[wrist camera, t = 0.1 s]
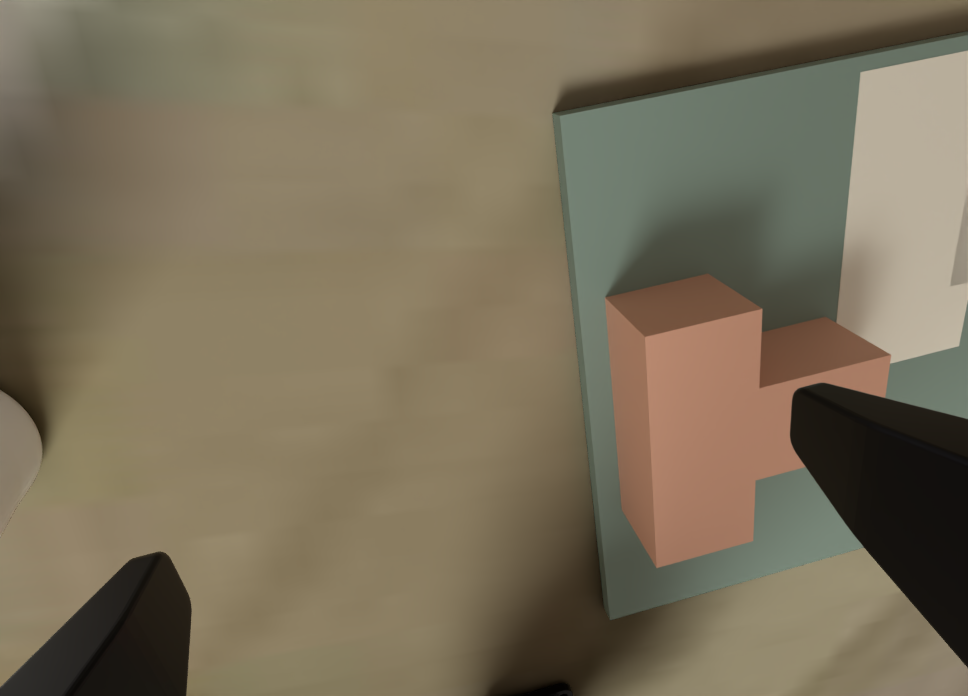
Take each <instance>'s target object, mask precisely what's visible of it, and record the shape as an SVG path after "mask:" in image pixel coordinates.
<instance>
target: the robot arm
mask: <svg viewBox="0 0 968 696" xmlns="http://www.w3.org/2000/svg"><path fill="white" fill-rule="evenodd" d="M790 440H791V444H792V447H793V449H794V451H795V452H796V454H797V455H798V457H799V458H800V460H801V461H802V463H803V464H804V465H805V467H806V468H807V470H808V471H809V473H810V474H811V475H812V477H813V478H814V480H815V481H816V483H817V484H818V485H819V487H820V488H821V490H822V491H823V493H824V494H825V496H826V497H827V498H828V500H829V501H830V503H831V504H832V506H833V507H834V508H835V510H836V511H837V513H838V514H839V516H840V517H841V518H842V520H843V521H844V523H845V524H846V525H847V527H848V528H849V529H850V531H851V532H852V533H853V535H854V536H855V537H856V538H857V539H858V541H859V542H860V543H861V544H862V546H863V547H864V548H865V549H866V550H867V551H868V553H869V554H870V555H871V556H872V557H873V558H874V560H875V561H876V562H877V563H878V564H879V565H880V567H881V568H882V569H883V570H884V571H885V572H886V573H887V575H888V576H889V577H890V578H891V579H892V580H893V582H894V583H895V584H896V585H897V586H898V587H899V589H900V590H901V591H902V592H903V593H904V594H905V596H906V597H907V598H908V599H909V600H910V601H911V602H912V604H913V605H914V606H915V607H916V608H917V609H918V611H919V612H920V613H921V614H922V615H923V616H924V618H925V619H926V620H927V621H928V622H929V623H930V625H931V626H932V627H933V628H934V629H935V630H936V631H937V633H938V634H939V635H940V636H941V637H942V638H943V640H944V641H945V642H946V643H947V644H948V645H949V647H950V648H951V649H952V650H953V651H954V652H955V654H956V655H957V656H958V657H959V658H960V659H961V660H962V662H963V663H964V664H965V665H966V666H967V667H968V419H966V418H962V417H959V416H955V415H951V414H947V413H943V412H939V411H935V410H931V409H927V408H923V407H919V406H915V405H911V404H907V403H903V402H899V401H895V400H892V399H888V398H884V397H880V396H876V395H872V394H868V393H864V392H860V391H856V390H852V389H848V388H844V387H840V386H836V385H832V384H828V383H816V384H812V385H809V386H805V387H801V388H798V389H797V390H796V391H795V392H794V394H793V396H792V407H791V422H790ZM191 612H192V610H191V602H190V598H189V595H188V592H187V590H186V588H185V586H184V584H183V582H182V580H181V578H180V576H179V574H178V572H177V570H176V568H175V566H174V564H173V563H172V561H171V559H170V557H169V556H168V555H167V554H166V553H164V552H155V553H151V554H147V555H143V556H139V557H136V558H133V559H131V560H129V561H128V562H127V563H126V564H125V565H124V566H123V567H122V568H121V569H120V570H119V571H118V572H117V573H116V574H115V575H114V576H113V577H112V578H111V579H110V580H109V581H108V582H107V583H106V584H105V585H104V586H103V587H102V588H101V589H100V590H99V591H98V592H97V593H96V594H95V595H94V596H93V597H92V598H91V599H89V600H88V601H87V602H86V603H85V604H84V605H83V606H82V607H81V608H80V609H79V610H78V611H77V612H76V613H75V614H74V615H73V616H72V617H71V618H70V619H69V620H68V621H67V622H66V623H65V624H64V625H63V626H62V627H61V628H60V629H59V630H58V631H57V632H56V633H55V634H54V635H53V636H52V637H51V638H50V639H49V640H48V641H47V642H46V643H45V644H44V645H43V646H42V647H41V648H40V649H39V650H38V651H37V652H36V653H35V654H34V655H33V656H32V657H31V658H30V659H29V660H28V661H27V662H26V663H25V664H24V665H23V666H21V667H20V668H19V669H18V670H17V671H16V672H15V673H14V674H13V675H12V676H11V677H10V678H9V679H8V680H7V681H6V682H5V683H4V684H3V685H2V686H1V687H0V696H186V692H187V676H188V660H189V645H190V629H191ZM521 696H573V693H572V691H571V688H570V686H569V685H568V684H565V683H562V684H558V685H554V686H551V687H548V688H544V689H541V690H537V691H534V692H531V693H527V694H524V695H521Z"/></svg>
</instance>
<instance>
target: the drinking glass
mask: <svg viewBox="0 0 968 696" xmlns="http://www.w3.org/2000/svg"><path fill="white" fill-rule="evenodd" d="M42 453H43V451H42V442H41V437H40V434H39V431H38V429H37V427H36V425H35V423H34V421H33V420H32V418H31V417H30V415H29V414H28V413H27V411H26V410H25V409H24V408H23V407H22V406H21V405H20V404H19V403H18V402H17V401H15V400H14V399H13V398H12V397H10V396H9V395H7V394H6V393H4V392H3V391H1V390H0V538H1V536H2V534H3V532H4V530H5V529H6V527H7V525H8V523H9V521H10V519H11V517H12V515H13V514H14V512H15V510H16V508H17V507H18V505H19V504H20V502H21V501H22V499H23V498H24V496H25V495H26V493H27V492H28V490H29V489H30V487H31V486H32V484H33V483H34V481H35V479H36V477H37V475H38V472H39V469H40V467H41V462H42Z"/></svg>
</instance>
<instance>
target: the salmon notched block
mask: <svg viewBox="0 0 968 696" xmlns="http://www.w3.org/2000/svg"><path fill="white" fill-rule="evenodd" d="M605 305H606V318H607V331H608V343H609V356H610V368H611V381H612V394H613V406H614V419H615V432H616V444H617V457H618V469H619V482H620V495H621V507H622V511H623V513H624V514H625V516H626V518H627V519H628V521H629V523H630V524H631V526H632V528H633V529H634V531H635V533H636V534H637V536H638V538H639V539H640V541H641V543H642V544H643V546H644V548H645V549H646V551H647V553H648V554H649V556H650V558H651V559H652V561H653V563H654V564H655V566H656V568H659V567H663V566H666V565H670V564H673V563H677V562H680V561H684V560H688V559H691V558H695V557H698V556H702V555H705V554H709V553H712V552H716V551H720V550H723V549H727V548H730V547H734V546H737V545H741V544H745V543H748V542H752V541H753V533H754V508H755V483H756V480H759V479H763V478H767V477H770V476H774V475H778V474H782V473H785V472H789V471H793V470H796V469H800V468H804V467H805V465H804V464H803V463H802V461H801V460H800V458H799V457H798V455H797V454H796V452H795V451H794V449H793V447H792V444H791V440H790V422H791V407H792V396H793V394H794V392H795V391H796V390H797V389H798V388H801V387H805V386H809V385H812V384H816V383H828V384H832V385H836V386H840V387H844V388H848V389H852V390H856V391H860V392H864V393H868V394H872V395H876V396H880V397H884V398H885V395H886V388H887V381H888V374H889V367H890V360H891V354H889V353H887V352H886V351H884V350H882V349H880V348H879V347H877V346H875V345H873V344H872V343H870V342H868V341H867V340H865V339H863V338H861V337H860V336H858V335H856V334H855V333H853V332H851V331H849V330H848V329H846V328H844V327H842V326H841V325H839V324H837V323H836V322H834V321H832V320H830V319H829V318H827V317H822V318H818V319H814V320H810V321H806V322H802V323H798V324H794V325H790V326H786V327H781V328H777V329H773V330H769V331H765V332H762V308H760V307H759V306H757V305H756V304H754V303H753V302H751V301H750V300H748V299H746V298H745V297H743V296H742V295H740V294H739V293H737V292H736V291H734V290H733V289H731V288H729V287H728V286H726V285H725V284H723V283H722V282H720V281H719V280H717V279H716V278H714V277H713V276H711V275H709V274H704V275H700V276H696V277H691V278H687V279H683V280H678V281H674V282H670V283H665V284H661V285H657V286H652V287H648V288H644V289H639V290H635V291H631V292H626V293H622V294H618V295H613V296H609V297H605Z"/></svg>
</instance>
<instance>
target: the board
mask: <svg viewBox="0 0 968 696" xmlns="http://www.w3.org/2000/svg"><path fill="white" fill-rule="evenodd" d="M552 114H553V124H554V133H555V143H556V152H557V162H558V171H559V181H560V191H561V200H562V210H563V219H564V229H565V239H566V248H567V258H568V267H569V277H570V286H571V296H572V306H573V315H574V325H575V334H576V344H577V354H578V363H579V373H580V382H581V392H582V402H583V411H584V421H585V430H586V440H587V449H588V459H589V469H590V478H591V488H592V497H593V507H594V517H595V526H596V536H597V545H598V555H599V564H600V574H601V584H602V593H603V603H604V608H605V611H606V613H607V615H608V617H609V619H610V620H613V619H617V618H620V617H624V616H627V615H631V614H634V613H637V612H641V611H644V610H648V609H651V608H655V607H658V606H662V605H665V604H669V603H672V602H676V601H679V600H683V599H686V598H690V597H693V596H697V595H700V594H704V593H707V592H711V591H714V590H717V589H721V588H724V587H728V586H731V585H735V584H738V583H742V582H745V581H749V580H752V579H756V578H759V577H763V576H766V575H770V574H773V573H777V572H780V571H784V570H787V569H790V568H794V567H797V566H801V565H804V564H808V563H811V562H815V561H818V560H822V559H825V558H829V557H832V556H836V555H839V554H843V553H846V552H850V551H853V550H857V549H860V548H864V547H863V546H862V544H861V543H860V542H859V541H858V539H857V538H856V537H855V536H854V535H853V533H852V532H851V531H850V529H849V528H848V527H847V525H846V524H845V523H844V521H843V520H842V518H841V517H840V516H839V514H838V513H837V511H836V510H835V508H834V507H833V506H832V504H831V503H830V501H829V500H828V498H827V497H826V496H825V494H824V493H823V491H822V490H821V488H820V487H819V485H818V484H817V483H816V481H815V480H814V478H813V477H812V475H811V474H810V473H809V471H808V470H807V468H806V467H804V468H800V469H796V470H793V471H789V472H785V473H782V474H778V475H774V476H770V477H767V478H763V479H759V480H756V483H755V508H754V533H753V541H752V542H748V543H745V544H741V545H737V546H734V547H730V548H727V549H723V550H720V551H716V552H712V553H709V554H705V555H702V556H698V557H695V558H691V559H688V560H684V561H680V562H677V563H673V564H670V565H666V566H663V567H659V568H656V566H655V564H654V563H653V561H652V559H651V558H650V556H649V554H648V553H647V551H646V549H645V548H644V546H643V544H642V543H641V541H640V539H639V538H638V536H637V534H636V533H635V531H634V529H633V528H632V526H631V524H630V523H629V521H628V519H627V518H626V516H625V514H624V513H623V511H622V507H621V495H620V482H619V469H618V457H617V444H616V432H615V419H614V406H613V394H612V381H611V368H610V356H609V343H608V331H607V318H606V305H605V297H609V296H613V295H618V294H622V293H626V292H631V291H635V290H639V289H644V288H648V287H652V286H657V285H661V284H665V283H670V282H674V281H678V280H683V279H687V278H691V277H696V276H700V275H704V274H709V275H711V276H713V277H714V278H716V279H717V280H719V281H720V282H722V283H723V284H725V285H726V286H728V287H729V288H731V289H733V290H734V291H736V292H737V293H739V294H740V295H742V296H743V297H745V298H746V299H748V300H750V301H751V302H753V303H754V304H756V305H757V306H759V307H760V308H762V332H765V331H769V330H773V329H777V328H781V327H786V326H790V325H794V324H798V323H802V322H806V321H810V320H814V319H818V318H822V317H827V318H829V319H830V320H832V321H834V322H836V323H837V324H839V325H841V326H842V327H844V328H846V329H848V330H849V331H851V332H853V333H855V334H856V335H858V336H860V337H861V338H863V339H865V340H867V341H868V342H870V343H872V344H873V345H875V346H877V347H879V348H880V349H882V350H884V351H886V352H887V353H889V354H891V360H890V367H889V374H888V381H887V388H886V395H885V398H888V399H892V400H895V401H899V402H903V403H907V404H911V405H915V406H919V407H923V408H927V409H931V410H935V411H939V412H943V413H947V414H951V415H955V416H959V417H962V418H966V419H968V31H966V32H961V33H956V34H951V35H946V36H941V37H936V38H931V39H926V40H920V41H915V42H910V43H905V44H900V45H895V46H890V47H885V48H880V49H875V50H870V51H865V52H860V53H855V54H850V55H845V56H840V57H834V58H829V59H824V60H819V61H814V62H809V63H804V64H799V65H794V66H789V67H784V68H779V69H774V70H769V71H764V72H759V73H753V74H748V75H743V76H738V77H733V78H728V79H723V80H718V81H713V82H708V83H703V84H698V85H693V86H688V87H683V88H678V89H673V90H667V91H662V92H657V93H652V94H647V95H642V96H637V97H632V98H627V99H622V100H617V101H612V102H607V103H602V104H597V105H592V106H587V107H581V108H576V109H571V110H566V111H561V112H556V113H552Z"/></svg>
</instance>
